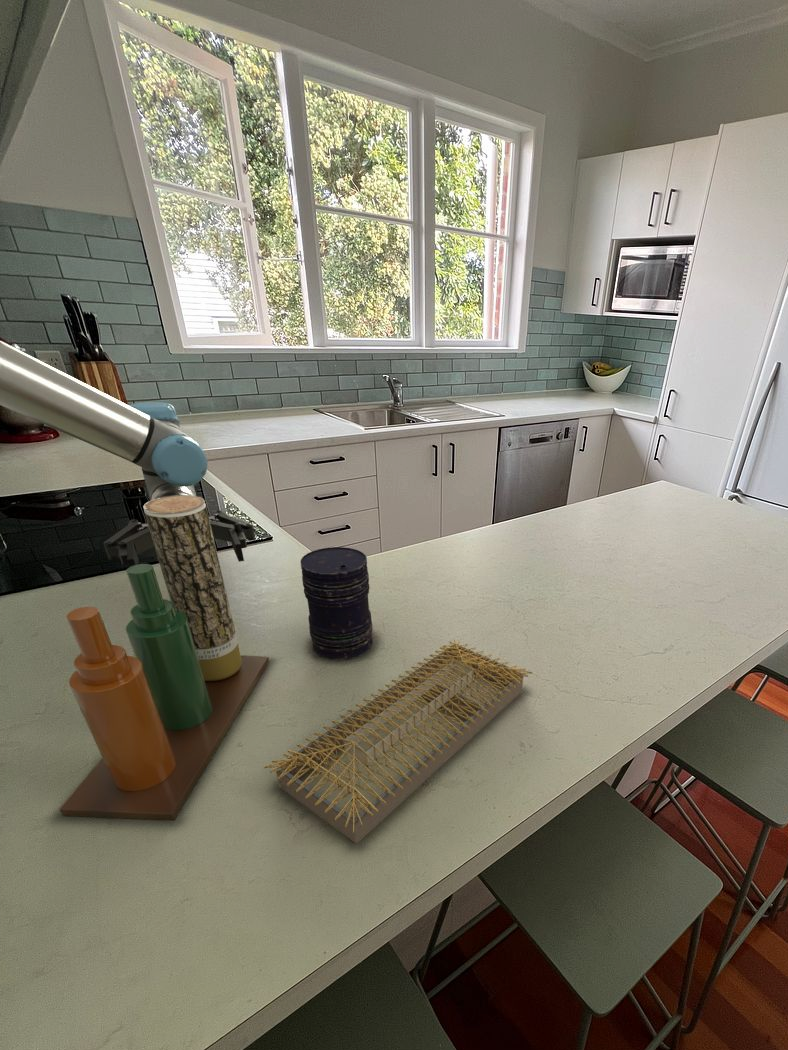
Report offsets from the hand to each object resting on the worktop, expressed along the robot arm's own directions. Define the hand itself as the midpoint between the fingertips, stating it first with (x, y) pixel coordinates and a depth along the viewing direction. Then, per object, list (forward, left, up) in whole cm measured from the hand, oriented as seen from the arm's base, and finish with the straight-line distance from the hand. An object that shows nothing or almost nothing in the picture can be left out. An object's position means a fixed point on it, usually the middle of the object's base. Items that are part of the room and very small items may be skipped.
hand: (188, 560), depth 77 cm
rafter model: (+34, -17, -16) cm, 41 cm away
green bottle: (+3, -16, -16) cm, 23 cm away
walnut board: (+3, -17, -16) cm, 23 cm away
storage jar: (+19, +4, -16) cm, 25 cm away
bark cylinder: (+3, -6, -15) cm, 16 cm away
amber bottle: (+3, -26, -16) cm, 30 cm away
